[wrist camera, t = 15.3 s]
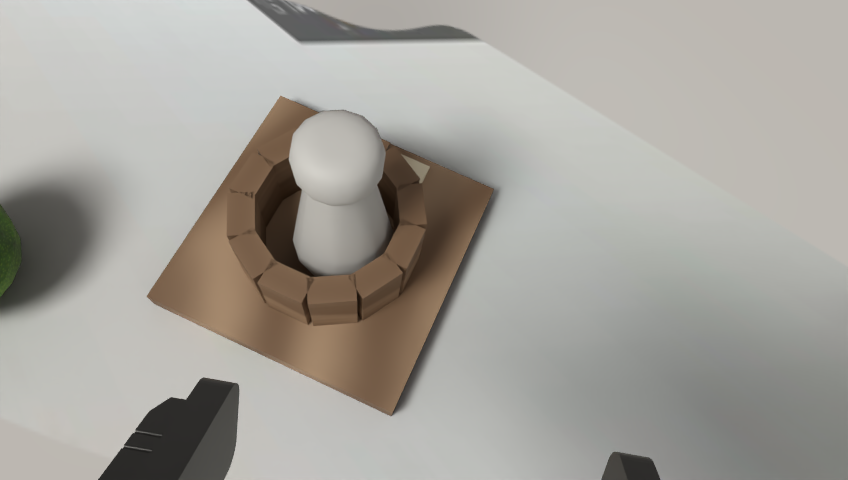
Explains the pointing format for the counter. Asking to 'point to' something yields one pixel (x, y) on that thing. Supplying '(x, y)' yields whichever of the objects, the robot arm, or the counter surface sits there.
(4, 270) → the avocado
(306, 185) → the salt shaker
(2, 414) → the counter surface
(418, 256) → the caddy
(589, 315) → the counter surface
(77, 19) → the counter surface
